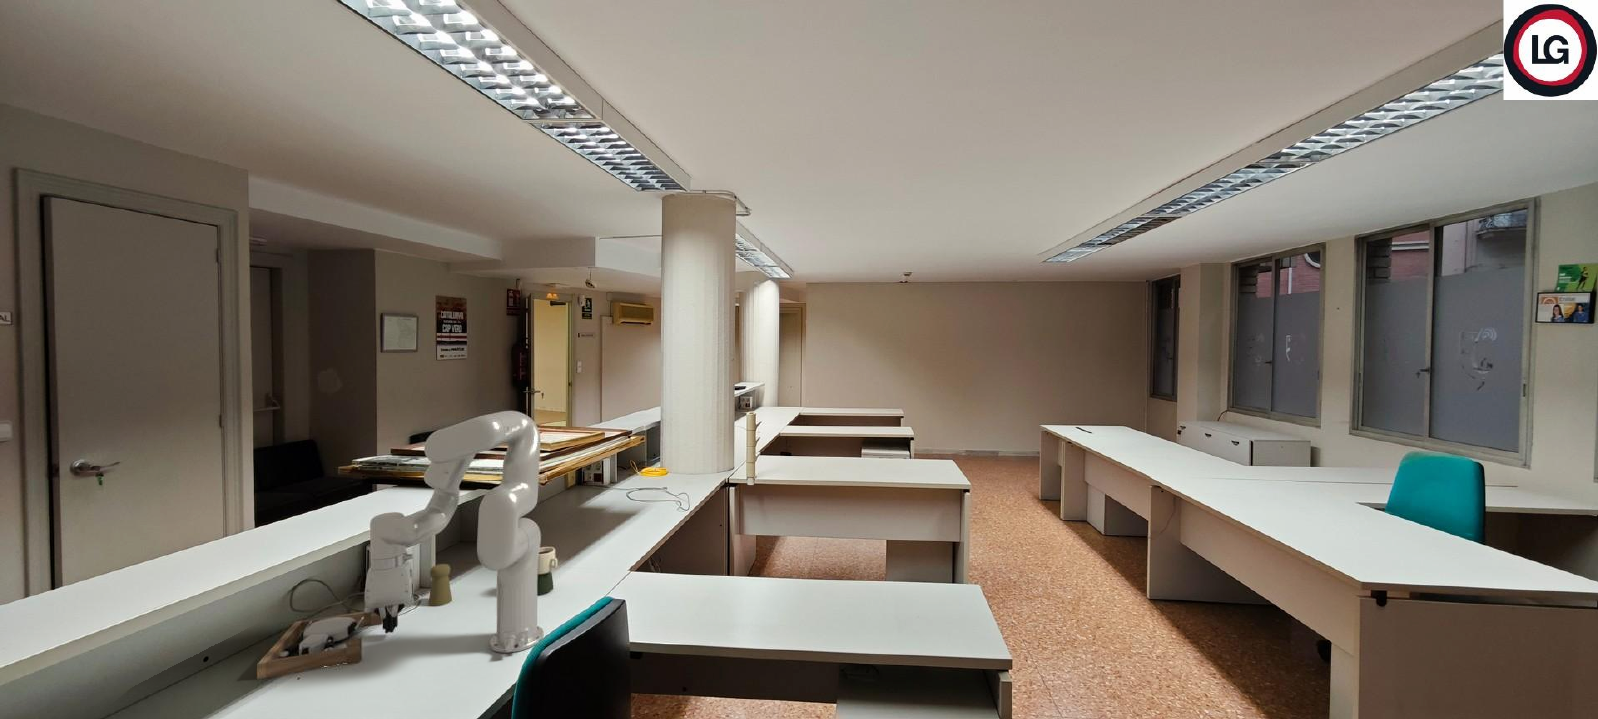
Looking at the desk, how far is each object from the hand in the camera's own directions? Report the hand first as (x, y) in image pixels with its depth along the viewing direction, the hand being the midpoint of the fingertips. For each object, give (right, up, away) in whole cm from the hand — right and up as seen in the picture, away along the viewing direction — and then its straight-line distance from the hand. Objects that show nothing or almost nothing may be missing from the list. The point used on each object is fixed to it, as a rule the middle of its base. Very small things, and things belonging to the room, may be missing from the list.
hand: (390, 630), depth 149 cm
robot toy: (-14, -2, -5) cm, 15 cm away
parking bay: (-13, -2, -5) cm, 14 cm away
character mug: (+27, -2, +29) cm, 40 cm away
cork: (0, -2, +21) cm, 21 cm away
